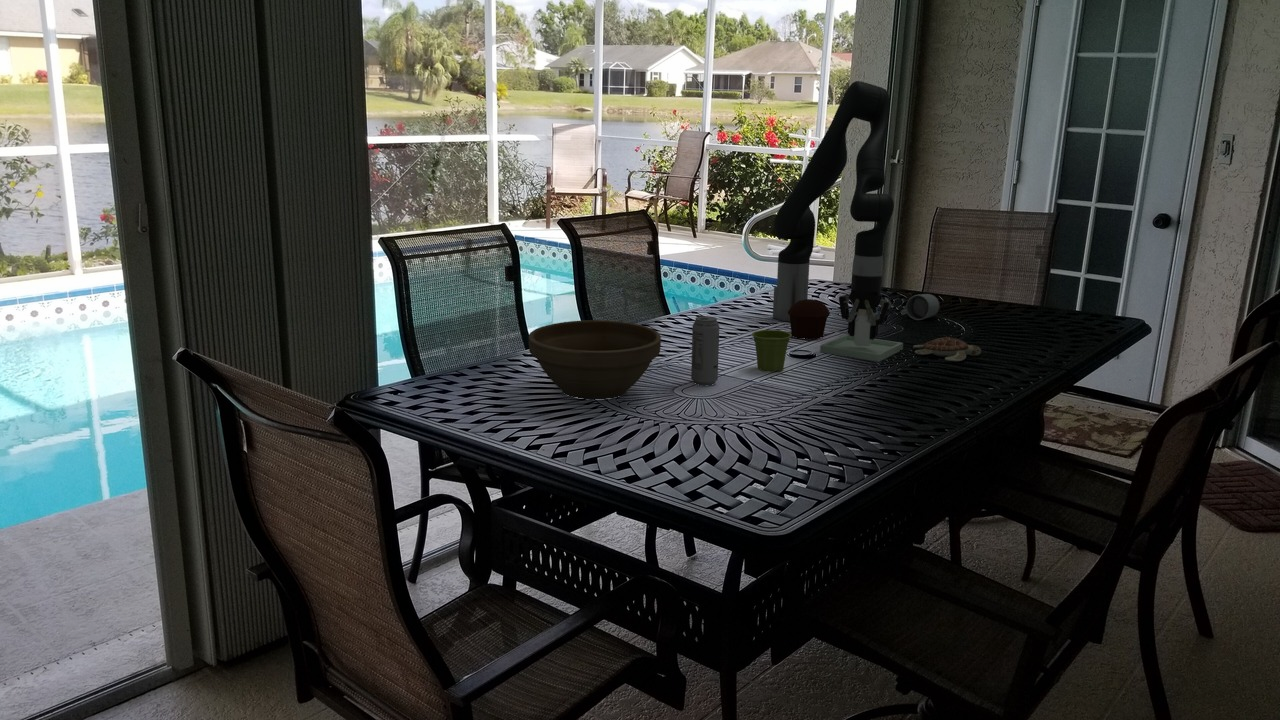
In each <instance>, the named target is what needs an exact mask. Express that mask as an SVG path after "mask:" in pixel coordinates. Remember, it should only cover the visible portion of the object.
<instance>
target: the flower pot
mask: <svg viewBox="0 0 1280 720" xmlns="http://www.w3.org/2000/svg"><path fill="white" fill-rule="evenodd" d="M661 344H662V337H661V334H660V333H659V331H657V330H655V329H653V328H650V326H649V327H648V326H645V325H643V324H642V325H641V324H637V323H633V322H626V321H617V320H602V319H601V320H600V319H592V320H591V319H587V320H570V321H563V322H557V323H552V324H546V325H544V326H541V327H538V328H535V329H533V330H532V331H531V332H530V333H529V334H528V349H529V353H530V355H531V356H533V358H535V359H536V361H537V362H538V363H539V366H540V367H541V369H542V370H543V372H544V373H545V374H546V375H547V377H548V378H549V379H550V380H551V381H552V383H554V385H556V386H557V388H559V389H560V390H561V392H562V393H563V394H564V393H565V394H567V395H569V396H573V397H578V398H584V399H585V398H586V399H606V398H614V397H618V396H621V397H623V396H624V395H626V394H627V393H628V391H629V390H630V389H631V388H632V387H633V386H635V384H636V383H637V382H638V381H639V380H640V379H641V378H642V376H644V374H645V372H646V371H647V370H648V368H649V366H651V363H652V362H653V360H654V359H656V358H657V357H658V356H659V355H660V353H661V346H662V345H661ZM565 394H564V395H565ZM567 395H566V396H567ZM622 395H623V396H622ZM569 396H568V397H569ZM618 398H619V397H618Z"/></svg>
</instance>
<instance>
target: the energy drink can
mask: <svg viewBox="0 0 1280 720" xmlns="http://www.w3.org/2000/svg"><path fill="white" fill-rule="evenodd" d="M691 331H692V332H691V333H692V335H691V337H692V339H691V340H692V341H691V342H692V343H691V373H690V375H691V376H690V379H691V380H692V382H693V384H694V383H696V384H699V385H698V386H700V385H711V386H713V385H712V384H714V383H715V384H716V382H717V381H718V379H719V378H718V377H719V354H720V352H719V351H720V325H719V322H718V318H717V317H714V316H711V315H709V316H708V315H707V316H706V315H704V316H703V315H702V316H696V317H695V321H694V322H693V324H692V330H691ZM696 384H695V385H696ZM715 384H714V385H715Z"/></svg>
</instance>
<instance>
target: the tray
mask: <svg viewBox="0 0 1280 720" xmlns="http://www.w3.org/2000/svg"><path fill="white" fill-rule="evenodd" d="M903 349H904V342H900V341H893V340H887V339H878V338H875V339H873V340H871V344H870V345H869V346H857V345H855V343H854V336H853V337H852V336H849V334H848V333H847V334H844V335H842V336H839V337H837V338H834V339H832V340H830V341H827V342H824V343H823V344H820V346H819V353H823V354H830V355H835V354H836V356H841V355H842V356H841V357H847V356H849V357H848V358H853V357H854V358H853V359H860V360H866V361H871V362H878V363H879V362H881V361H883V360H886V359H887V358H889V357H891V356H893V355H895V354H897V353H900V352H901V351H903ZM900 350H901V351H900Z"/></svg>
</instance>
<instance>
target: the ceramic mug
mask: <svg viewBox="0 0 1280 720" xmlns="http://www.w3.org/2000/svg"><path fill="white" fill-rule="evenodd" d="M939 310H940V301H939V299H938V298H937V297H936V296H935V295H933V294H931V293H923V294H915V295H912V296H911V297H910V298H909V299H908V300H907V302H906V305H905V308H904V309H902V310H900V313H901V316H902V317H903V316H907V315H908V317H910V318H911V319H913V320H915V321H922V320H926V319H928V318H932V317H934V316H935V315H937V314H938V312H939Z"/></svg>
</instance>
